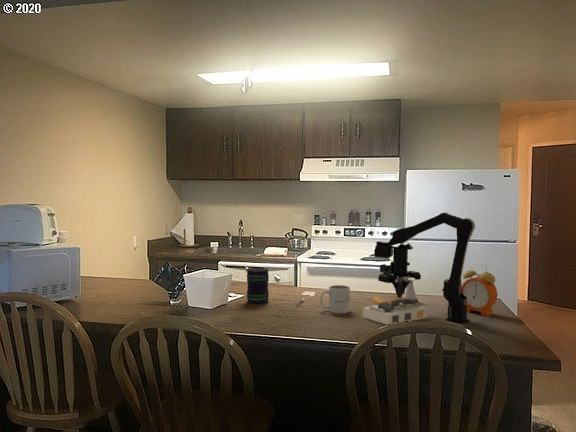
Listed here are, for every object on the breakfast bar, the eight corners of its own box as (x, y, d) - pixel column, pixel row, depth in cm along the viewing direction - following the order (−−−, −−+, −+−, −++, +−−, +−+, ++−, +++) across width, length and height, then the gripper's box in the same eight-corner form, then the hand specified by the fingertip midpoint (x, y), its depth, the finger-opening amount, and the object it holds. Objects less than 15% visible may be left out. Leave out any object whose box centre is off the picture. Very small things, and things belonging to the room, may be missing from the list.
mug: (349, 308, 202) (349, 285, 202) (349, 313, 194) (349, 289, 193) (320, 307, 204) (321, 284, 203) (319, 312, 195) (319, 288, 195)
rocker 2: (406, 305, 183) (405, 298, 184) (400, 306, 181) (399, 299, 182) (390, 306, 191) (389, 300, 191) (384, 307, 189) (383, 301, 189)
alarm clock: (459, 310, 198) (460, 263, 198) (467, 308, 202) (467, 262, 202) (490, 316, 188) (490, 266, 188) (497, 314, 192) (498, 265, 191)
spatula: (315, 294, 234) (315, 292, 234) (303, 308, 205) (303, 304, 205) (303, 294, 235) (303, 291, 235) (289, 307, 207) (290, 303, 207)
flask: (418, 303, 212) (418, 281, 212) (402, 303, 214) (402, 281, 213) (417, 300, 219) (417, 278, 219) (401, 299, 221) (401, 278, 220)
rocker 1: (392, 312, 181) (394, 307, 180) (386, 313, 179) (387, 308, 178) (377, 302, 188) (378, 296, 187) (370, 303, 186) (371, 297, 186)
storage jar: (243, 304, 211) (243, 270, 210) (250, 299, 220) (250, 267, 220) (265, 305, 208) (265, 271, 208) (271, 300, 218) (271, 268, 217)
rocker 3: (418, 305, 187) (417, 299, 187) (411, 306, 185) (411, 300, 185) (401, 302, 195) (401, 296, 195) (395, 303, 193) (395, 297, 193)
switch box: (426, 318, 186) (426, 305, 186) (388, 325, 175) (389, 312, 175) (399, 311, 198) (399, 299, 198) (363, 317, 187) (363, 304, 187)
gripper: (402, 255, 204) (401, 291, 205) (369, 258, 194) (368, 296, 195) (422, 259, 195) (420, 296, 196) (388, 262, 185) (387, 301, 186)
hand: (399, 297), depth 193 cm, fingers closed, pressing on rocker 3
